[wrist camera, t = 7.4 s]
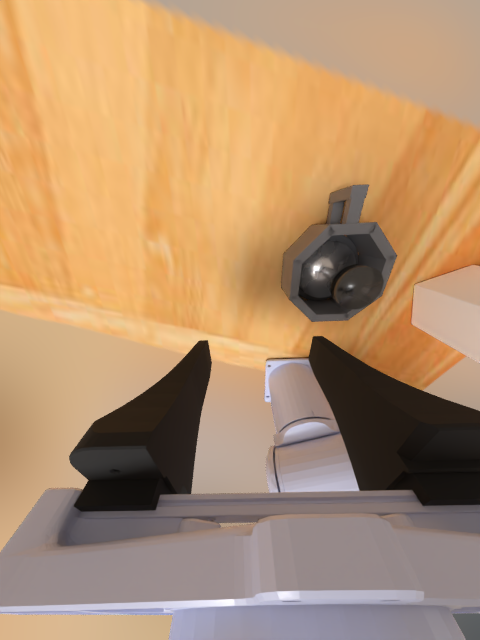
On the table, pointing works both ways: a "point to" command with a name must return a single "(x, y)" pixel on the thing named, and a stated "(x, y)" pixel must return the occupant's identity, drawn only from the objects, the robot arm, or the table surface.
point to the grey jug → (359, 239)
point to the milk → (451, 309)
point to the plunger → (340, 276)
